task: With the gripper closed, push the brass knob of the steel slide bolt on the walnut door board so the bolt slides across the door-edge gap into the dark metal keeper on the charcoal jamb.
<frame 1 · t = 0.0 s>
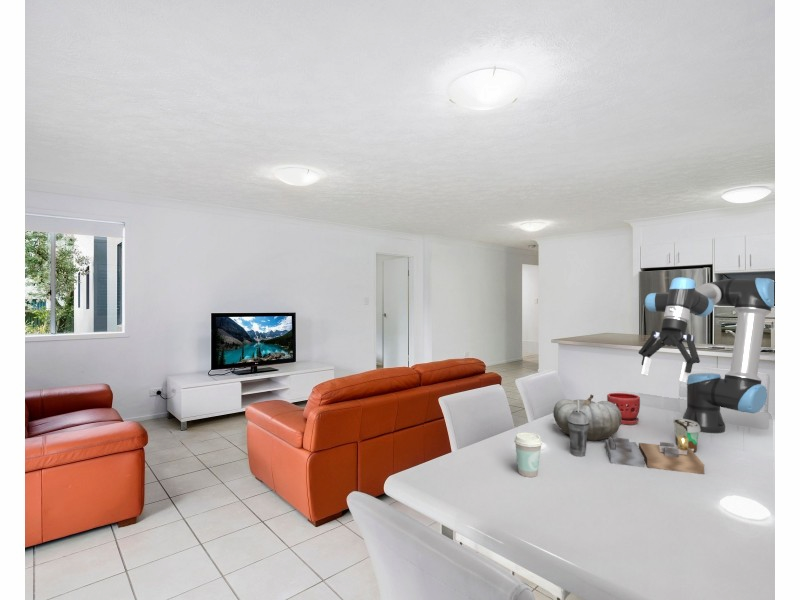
hand: (662, 378, 153), 28 cm above the table, fingers open, 13 cm apart
door board: (652, 459, 151), on the table
plant pot: (623, 422, 195), on the table
gourd: (585, 436, 176), on the table
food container: (689, 449, 161), on the table
bolt: (673, 444, 149), point 6 cm above the table, slide at 0.0 cm
beverage cup: (578, 454, 156), on the table
coffee cup: (528, 474, 140), on the table
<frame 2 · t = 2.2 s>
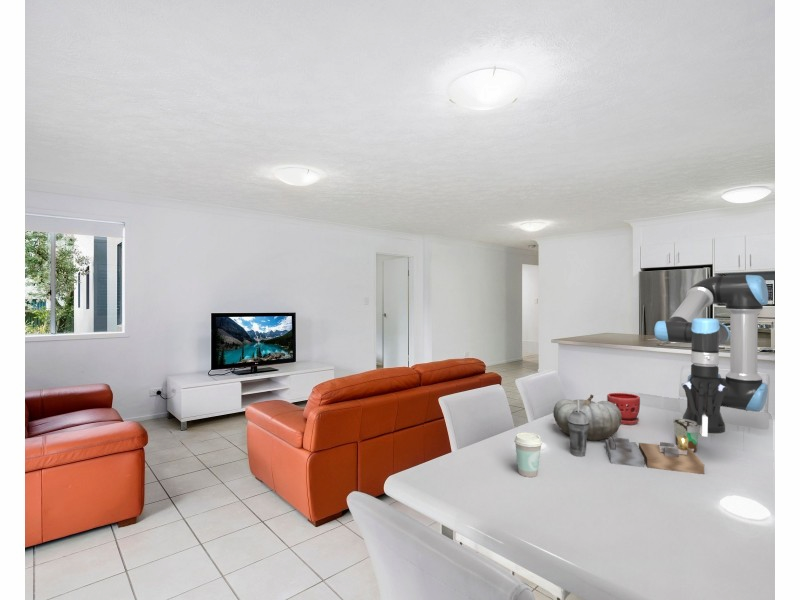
hand: (703, 435, 145), 10 cm above the table, fingers closed
nothing on the table moved.
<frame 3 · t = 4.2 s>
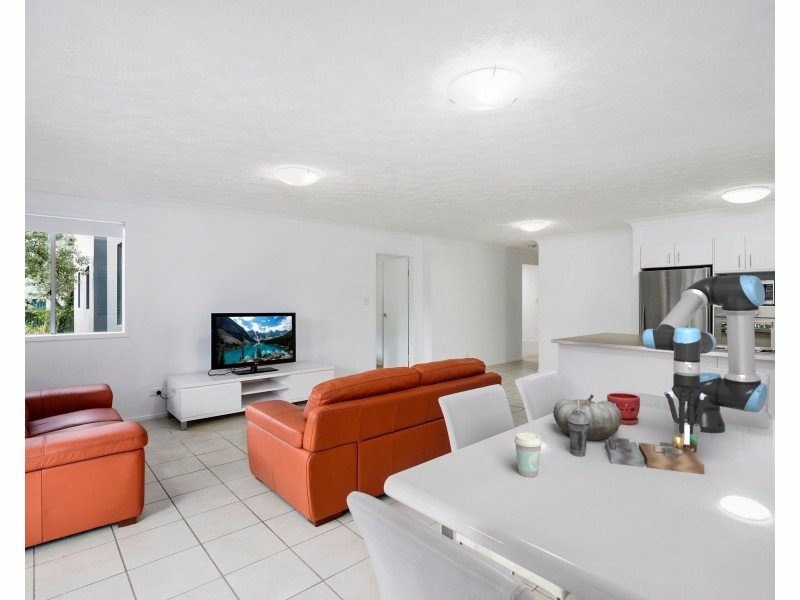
hand: (685, 443, 147), 7 cm above the table, fingers closed
bolt: (668, 443, 149), point 6 cm above the table, slide at 1.4 cm, touching gripper
everything else where it was.
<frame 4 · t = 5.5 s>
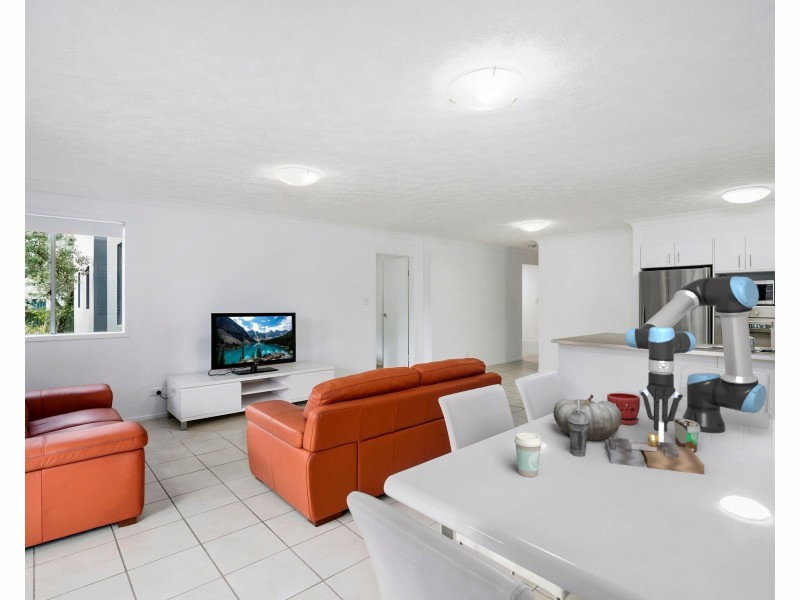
hand: (660, 440, 150), 7 cm above the table, fingers closed
bolt: (643, 441, 152), point 6 cm above the table, slide at 9.0 cm, touching gripper
everything else where it was.
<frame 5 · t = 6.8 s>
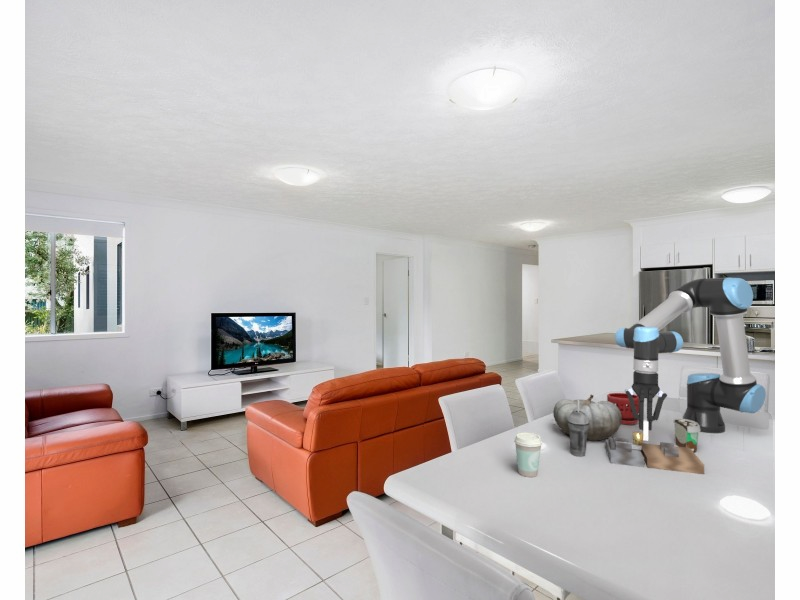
hand: (645, 439, 151), 7 cm above the table, fingers closed
bolt: (629, 439, 153), point 6 cm above the table, slide at 13.6 cm, touching gripper
everything else where it was.
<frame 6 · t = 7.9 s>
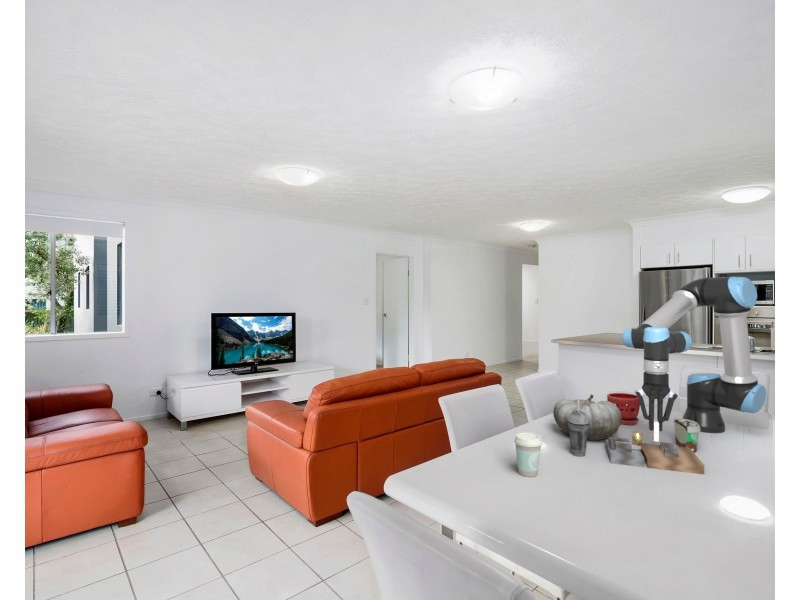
hand: (655, 440, 151), 7 cm above the table, fingers closed
bolt: (628, 439, 153), point 6 cm above the table, slide at 13.7 cm
everything else where it was.
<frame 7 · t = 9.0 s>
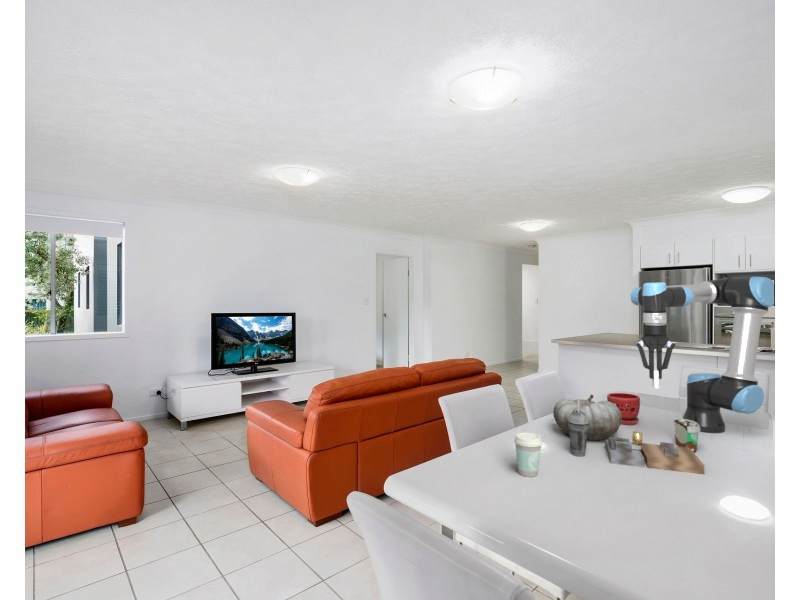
hand: (655, 387, 162), 23 cm above the table, fingers closed
nothing on the table moved.
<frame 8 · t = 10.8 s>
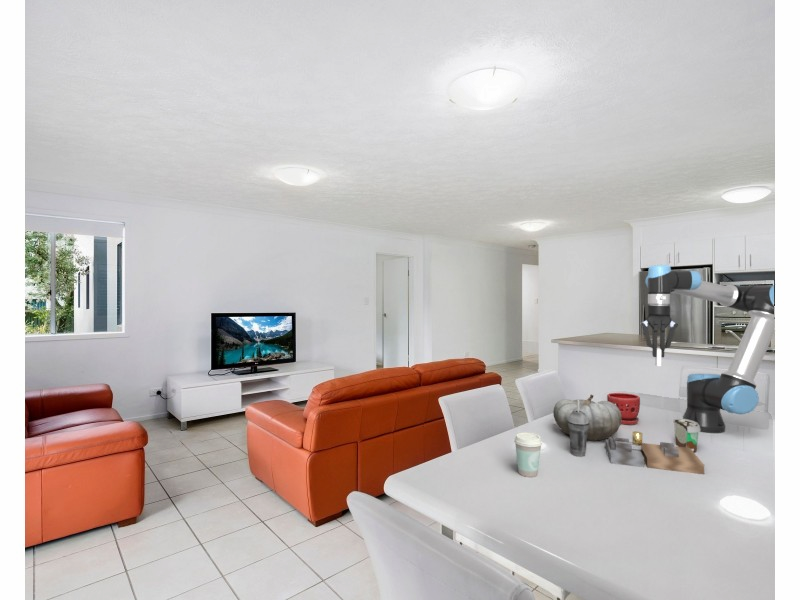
hand: (658, 365, 170), 29 cm above the table, fingers closed
nothing on the table moved.
at the end: bolt slide at 13.7 cm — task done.
